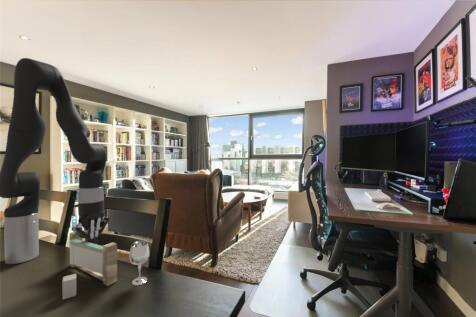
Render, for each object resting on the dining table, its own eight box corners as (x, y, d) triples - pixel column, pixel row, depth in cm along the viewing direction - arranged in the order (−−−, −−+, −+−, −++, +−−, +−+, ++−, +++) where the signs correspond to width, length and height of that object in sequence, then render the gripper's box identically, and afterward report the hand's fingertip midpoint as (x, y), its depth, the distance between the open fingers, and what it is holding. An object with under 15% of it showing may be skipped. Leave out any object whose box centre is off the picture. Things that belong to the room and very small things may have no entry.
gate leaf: (110, 273, 69) (110, 248, 69) (104, 276, 67) (104, 250, 67) (75, 262, 76) (75, 238, 76) (69, 264, 74) (69, 240, 74)
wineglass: (141, 287, 65) (141, 248, 64) (125, 285, 66) (125, 247, 65) (153, 277, 70) (153, 241, 70) (137, 275, 71) (137, 239, 71)
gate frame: (69, 265, 77) (69, 232, 77) (79, 262, 80) (79, 230, 79) (107, 286, 65) (107, 247, 65) (117, 280, 68) (117, 243, 68)
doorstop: (76, 290, 63) (76, 273, 63) (76, 295, 61) (75, 278, 61) (63, 293, 62) (63, 276, 61) (62, 299, 59) (62, 281, 59)
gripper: (100, 195, 83) (101, 239, 84) (63, 203, 70) (64, 254, 71) (115, 196, 81) (115, 241, 81) (80, 204, 68) (81, 258, 69)
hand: (92, 247), depth 76 cm, fingers closed
